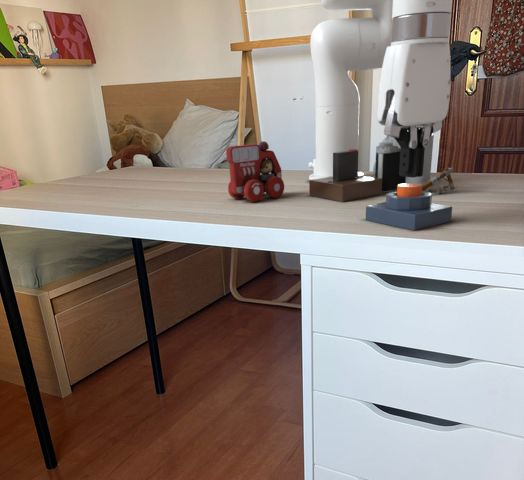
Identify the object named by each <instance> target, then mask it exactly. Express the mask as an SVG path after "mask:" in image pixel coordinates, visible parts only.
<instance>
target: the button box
mask: <svg viewBox="0 0 524 480" xmlns="http://www.w3.org/2000/svg"><path fill="white" fill-rule="evenodd" d="M432 198H433V193H431V192H429V191H428V192H425V191H422V193H421V196H414V197H402V196H397V190H394V191H389V192H387V193H386V195H385V201H383V202H378V203H373V204H369V205H366V206H365V221H369V222H373V223H378V224H382V225H387V226H392V227H396V228H400V229H405V230H411V231H418V230H421V229H426V228H430V227H433V226H437V225H443V224H446V223H450V222H452V215H453V213H452V212H453V206H450V205H445V204H438V203H433V202H432V200H433V199H432Z"/></svg>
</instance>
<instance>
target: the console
mask: <svg viewBox="0 0 524 480" xmlns="http://www.w3.org/2000/svg"><path fill="white" fill-rule="evenodd" d="M308 181H309V182H308V184H309V186H308V187H309V189H308V190H309V192H308V193H309V196H310V197H316V198H321V199H326V200H331V201H336V202H340V203H341V202H342V203H344V202H349V201H354V200H359V199H365V198H370V197H375V196H380V195H382V194H383V192H382V178H375V176H365V175H364V176H363V175H362V176H359V175H358V178H353V179H347V180H341V181H335V180H333V176H329V177H326V178H320V179H313V180H309V179H308Z"/></svg>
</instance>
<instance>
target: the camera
mask: <svg viewBox="0 0 524 480" xmlns="http://www.w3.org/2000/svg"><path fill="white" fill-rule="evenodd" d="M399 165H400V148H398V146H397V141H396V139H395V138H394V137H390V136H387V135H386V137H384V138H383V140H382V141H381V142H379V143H378V146H375V162H374V164H373V168H372V173H373V174H372V175H373V177H375V178H382V193H390V192H394V191H397V185H399V184H403V183H406V177H403V176H400V175H399Z"/></svg>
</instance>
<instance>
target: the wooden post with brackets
mask: <svg viewBox="0 0 524 480" xmlns="http://www.w3.org/2000/svg"><path fill="white" fill-rule="evenodd" d="M453 171H454V167H444V169H443V171H442V172H441V173H440V174H438V175H435V176H433V177H432V178H430V180H429V182H427V183H425V184H423V185H422V191H425V190H426V189H428V188H429V189H430V188H431V187H432V186H435V185H437V184H438V183H439V182H441V181H442V180H445V181H447V183H448V184H447V185H446V184H445V185H443V184H442V186H441V187H439V188H437V191H436V193H437V194H443V193H445V192H448V190H447V189H449V188H450V190H452V191H454V190H455V189H456V186H455V182H454V181H453V179H452V176H451V175H452V173H453ZM445 177H446V178H445Z"/></svg>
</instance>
